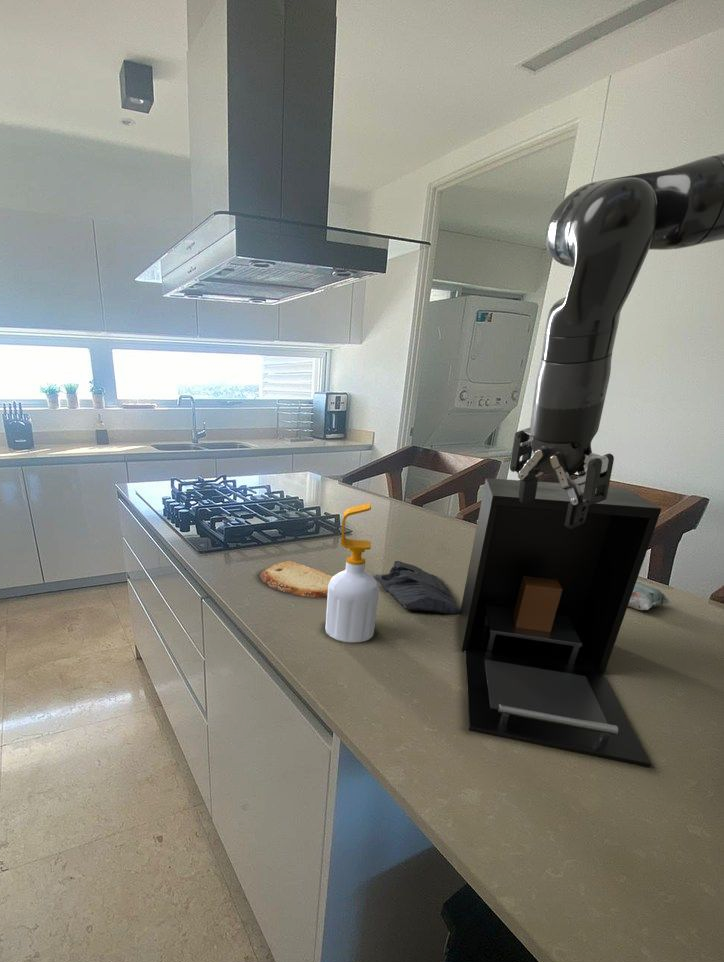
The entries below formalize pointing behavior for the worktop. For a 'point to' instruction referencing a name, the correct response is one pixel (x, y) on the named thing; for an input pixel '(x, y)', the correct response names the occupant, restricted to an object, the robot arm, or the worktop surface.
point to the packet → (537, 603)
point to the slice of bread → (297, 579)
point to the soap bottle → (352, 592)
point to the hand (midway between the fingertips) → (548, 513)
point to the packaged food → (646, 597)
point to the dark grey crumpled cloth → (418, 589)
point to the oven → (584, 599)
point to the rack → (504, 625)
